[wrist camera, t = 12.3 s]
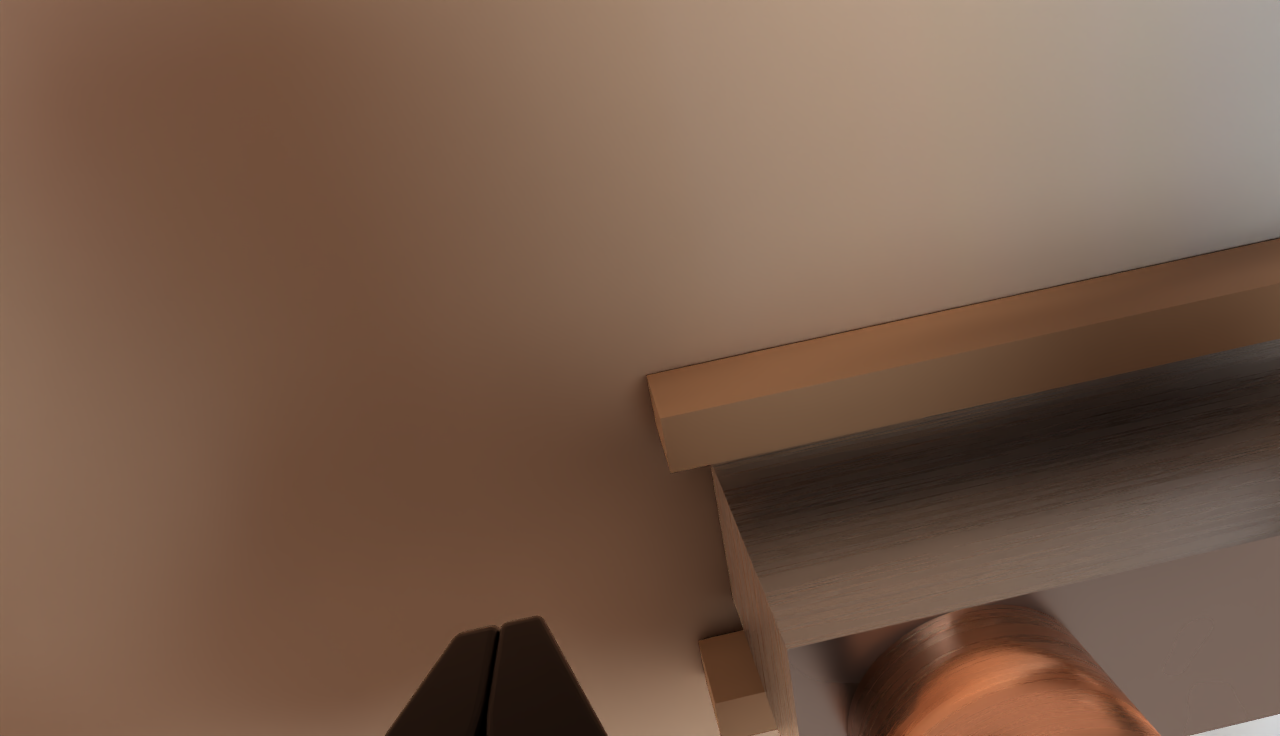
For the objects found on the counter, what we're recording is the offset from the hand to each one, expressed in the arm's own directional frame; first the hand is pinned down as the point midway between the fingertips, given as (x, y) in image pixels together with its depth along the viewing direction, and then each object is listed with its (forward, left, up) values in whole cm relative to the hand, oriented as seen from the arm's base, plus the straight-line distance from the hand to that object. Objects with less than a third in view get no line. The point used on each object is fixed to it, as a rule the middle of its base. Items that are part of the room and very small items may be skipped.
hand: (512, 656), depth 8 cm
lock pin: (-6, 0, -1) cm, 6 cm away
